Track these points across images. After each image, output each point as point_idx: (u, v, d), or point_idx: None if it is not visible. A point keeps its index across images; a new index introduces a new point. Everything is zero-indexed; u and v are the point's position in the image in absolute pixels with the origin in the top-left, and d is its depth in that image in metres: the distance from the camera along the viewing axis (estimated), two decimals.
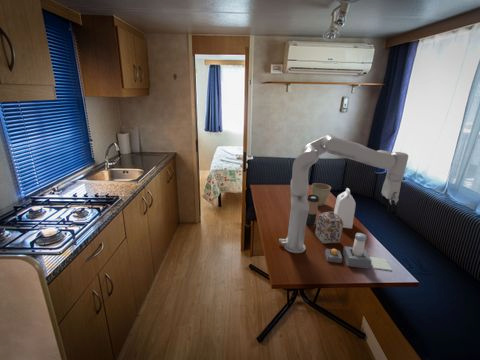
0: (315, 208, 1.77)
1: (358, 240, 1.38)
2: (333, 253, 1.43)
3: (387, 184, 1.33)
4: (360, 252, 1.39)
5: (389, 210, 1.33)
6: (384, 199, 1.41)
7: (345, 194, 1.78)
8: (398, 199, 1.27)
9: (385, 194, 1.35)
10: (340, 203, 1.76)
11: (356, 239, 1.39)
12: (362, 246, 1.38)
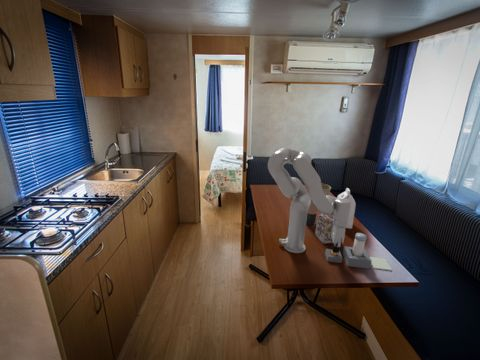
0: (315, 208, 1.77)
1: (358, 240, 1.38)
2: (333, 254, 1.43)
3: (333, 229, 1.39)
4: (360, 252, 1.39)
5: (334, 251, 1.43)
6: None
7: (345, 194, 1.78)
8: (339, 247, 1.37)
9: (332, 238, 1.40)
10: None
11: (356, 239, 1.39)
12: (362, 246, 1.38)
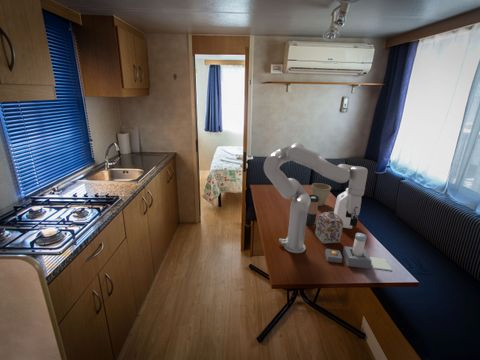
0: (315, 208, 1.77)
1: (358, 240, 1.38)
2: None
3: (349, 198, 1.33)
4: (360, 252, 1.39)
5: (351, 225, 1.32)
6: (349, 213, 1.41)
7: (345, 194, 1.78)
8: (358, 214, 1.26)
9: (347, 208, 1.34)
10: (340, 203, 1.76)
11: (356, 239, 1.39)
12: (362, 246, 1.38)
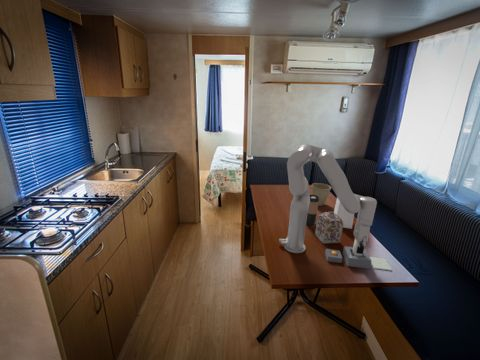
0: (315, 208, 1.77)
1: None
2: None
3: (357, 227, 1.37)
4: None
5: (358, 252, 1.39)
6: None
7: None
8: None
9: (356, 237, 1.38)
10: (340, 203, 1.76)
11: None
12: None
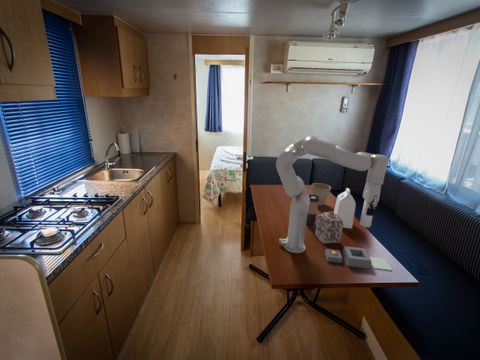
0: (315, 208, 1.77)
1: None
2: None
3: (367, 187, 1.30)
4: None
5: (368, 214, 1.31)
6: None
7: (345, 194, 1.78)
8: (376, 205, 1.25)
9: (365, 198, 1.31)
10: (340, 203, 1.76)
11: None
12: None
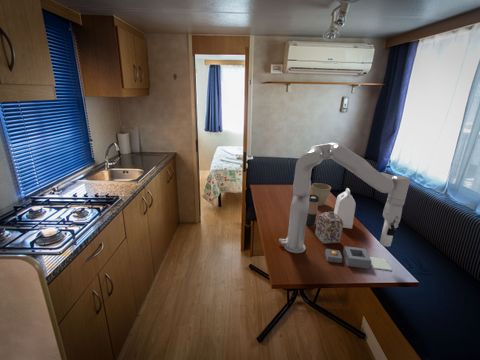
0: (315, 208, 1.77)
1: None
2: None
3: (388, 208, 1.31)
4: None
5: (388, 234, 1.33)
6: None
7: (345, 194, 1.78)
8: None
9: (386, 218, 1.32)
10: (340, 203, 1.76)
11: None
12: None
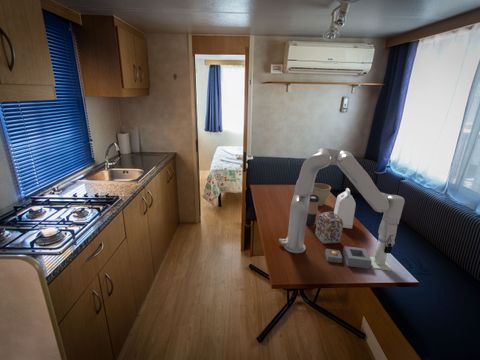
0: (315, 208, 1.77)
1: (382, 242, 1.36)
2: None
3: (384, 226, 1.34)
4: (384, 254, 1.37)
5: (385, 252, 1.34)
6: None
7: (345, 194, 1.78)
8: (394, 243, 1.28)
9: (382, 235, 1.36)
10: (340, 203, 1.76)
11: (380, 241, 1.37)
12: None
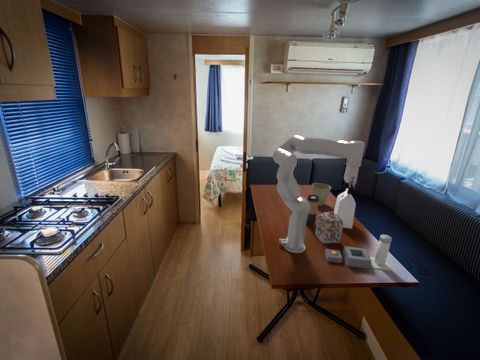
0: (315, 208, 1.77)
1: (383, 242, 1.36)
2: None
3: (347, 170, 1.48)
4: (385, 254, 1.37)
5: (349, 193, 1.48)
6: (346, 184, 1.56)
7: (345, 194, 1.78)
8: (355, 182, 1.42)
9: (346, 179, 1.49)
10: (340, 203, 1.76)
11: (381, 241, 1.37)
12: (387, 248, 1.36)
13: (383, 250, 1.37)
